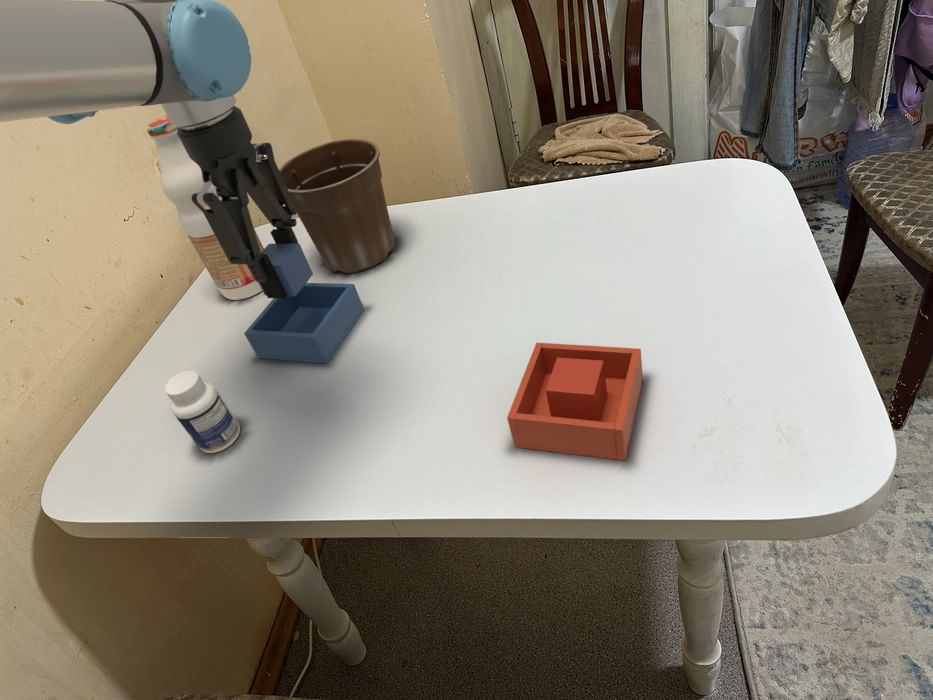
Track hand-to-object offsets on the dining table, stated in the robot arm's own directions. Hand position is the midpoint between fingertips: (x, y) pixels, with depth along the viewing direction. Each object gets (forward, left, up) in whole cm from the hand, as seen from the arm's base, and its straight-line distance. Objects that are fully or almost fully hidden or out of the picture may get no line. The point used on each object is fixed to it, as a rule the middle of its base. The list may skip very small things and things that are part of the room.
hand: (288, 283), depth 89 cm
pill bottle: (-2, -20, -9) cm, 22 cm away
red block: (+41, -10, -8) cm, 43 cm away
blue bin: (0, 0, -9) cm, 9 cm away
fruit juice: (-19, +11, -9) cm, 24 cm away
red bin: (+41, -10, -9) cm, 43 cm away
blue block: (0, 0, 0) cm, 0 cm away
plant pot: (-2, +20, -9) cm, 22 cm away
